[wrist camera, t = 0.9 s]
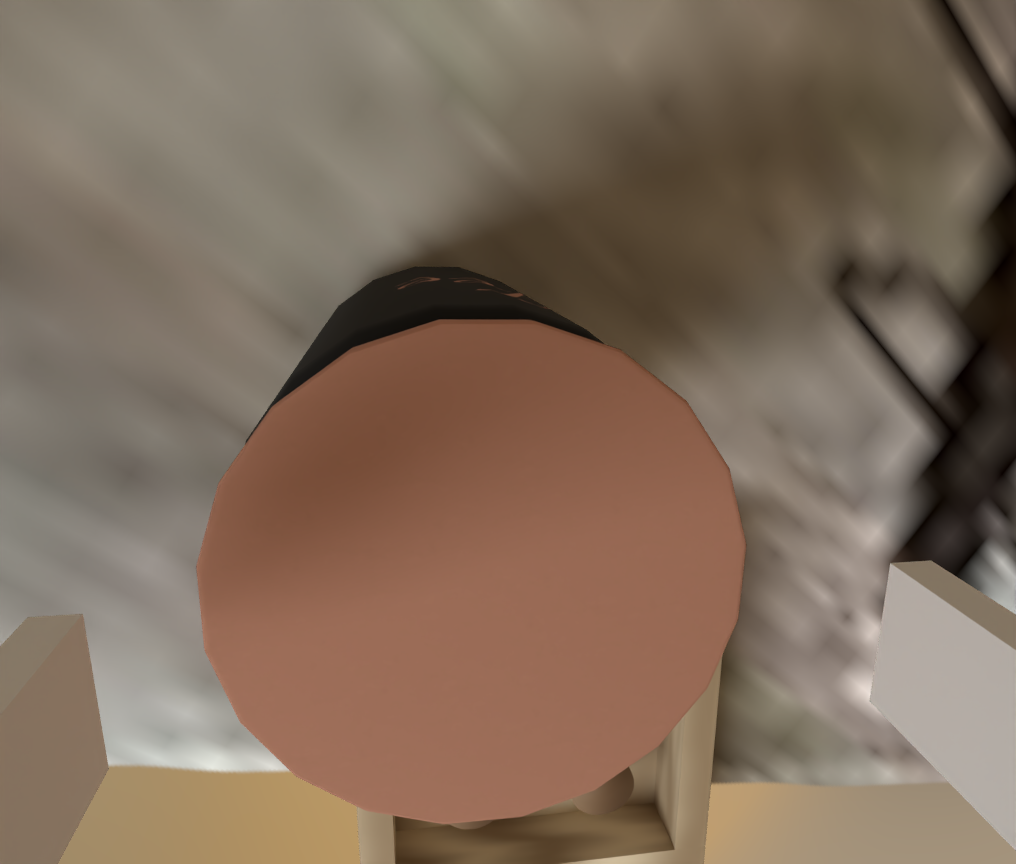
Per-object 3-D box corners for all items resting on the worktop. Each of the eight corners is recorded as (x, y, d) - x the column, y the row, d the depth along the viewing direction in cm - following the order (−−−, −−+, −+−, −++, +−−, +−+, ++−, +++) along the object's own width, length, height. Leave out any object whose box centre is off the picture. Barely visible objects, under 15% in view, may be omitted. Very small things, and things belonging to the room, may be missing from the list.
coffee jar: (610, 391, 33) (849, 578, 15) (437, 558, 34) (482, 910, 16) (435, 206, 29) (491, 182, 12) (249, 396, 30) (61, 619, 13)
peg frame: (366, 850, 37) (363, 914, 34) (348, 552, 33) (343, 591, 29) (676, 815, 39) (703, 871, 36) (697, 532, 35) (730, 565, 32)
